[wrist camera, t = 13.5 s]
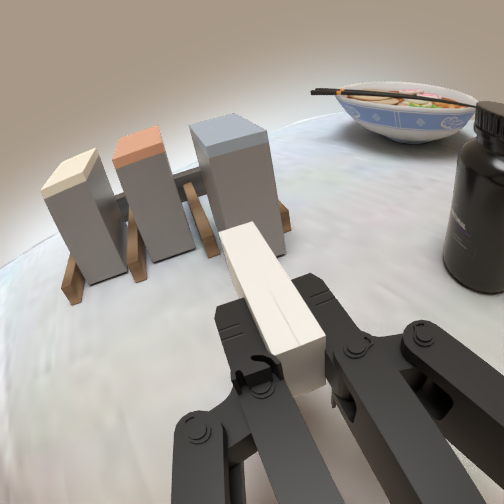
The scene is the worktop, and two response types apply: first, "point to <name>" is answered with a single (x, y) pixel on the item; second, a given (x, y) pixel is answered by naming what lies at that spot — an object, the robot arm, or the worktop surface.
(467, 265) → the supplement bottle
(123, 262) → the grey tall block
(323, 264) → the worktop surface
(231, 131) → the slate key
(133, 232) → the key bed
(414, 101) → the ramen bowl
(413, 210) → the worktop surface
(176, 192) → the terracotta key
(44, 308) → the worktop surface
